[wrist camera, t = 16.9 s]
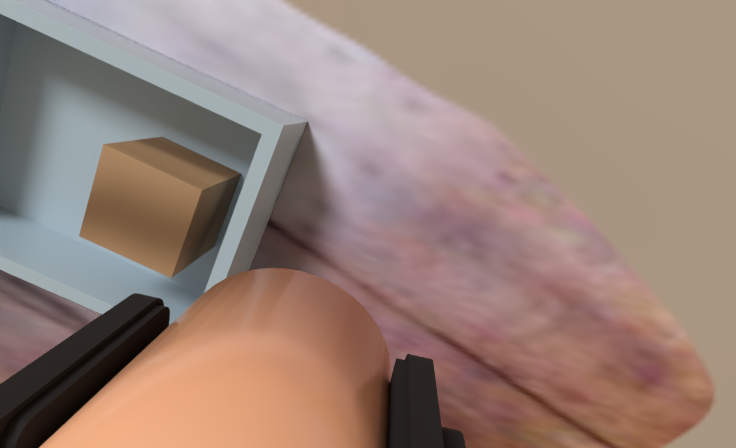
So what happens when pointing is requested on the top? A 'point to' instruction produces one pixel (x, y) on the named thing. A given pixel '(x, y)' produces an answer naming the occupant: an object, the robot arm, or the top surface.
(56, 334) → the top surface
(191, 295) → the box
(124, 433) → the terracotta egg
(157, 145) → the walnut cube
